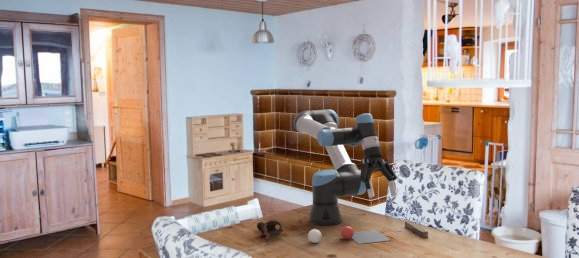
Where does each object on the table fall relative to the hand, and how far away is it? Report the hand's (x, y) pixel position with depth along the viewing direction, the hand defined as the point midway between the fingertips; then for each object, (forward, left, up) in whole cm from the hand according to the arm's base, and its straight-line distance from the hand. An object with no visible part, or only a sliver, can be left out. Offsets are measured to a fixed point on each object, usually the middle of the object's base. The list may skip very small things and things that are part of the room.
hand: (383, 196), depth 198 cm
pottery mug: (-34, -33, -17) cm, 51 cm away
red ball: (-8, -14, -14) cm, 21 cm away
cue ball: (-15, -26, -14) cm, 33 cm away
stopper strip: (+7, +13, -17) cm, 23 cm away
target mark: (-4, -6, -17) cm, 18 cm away
